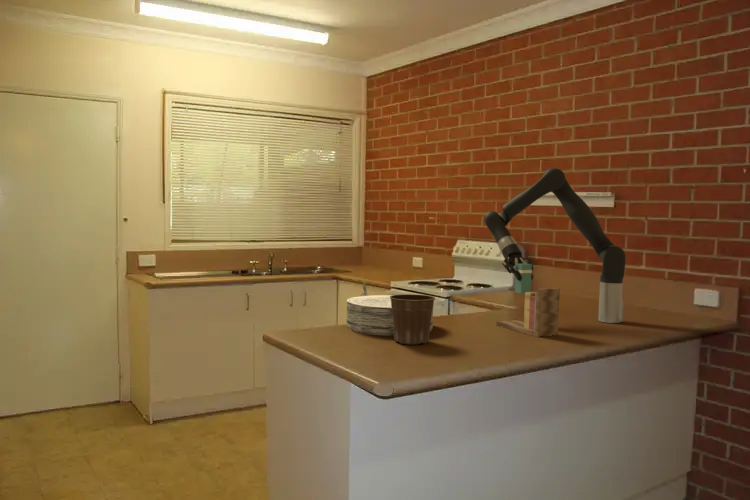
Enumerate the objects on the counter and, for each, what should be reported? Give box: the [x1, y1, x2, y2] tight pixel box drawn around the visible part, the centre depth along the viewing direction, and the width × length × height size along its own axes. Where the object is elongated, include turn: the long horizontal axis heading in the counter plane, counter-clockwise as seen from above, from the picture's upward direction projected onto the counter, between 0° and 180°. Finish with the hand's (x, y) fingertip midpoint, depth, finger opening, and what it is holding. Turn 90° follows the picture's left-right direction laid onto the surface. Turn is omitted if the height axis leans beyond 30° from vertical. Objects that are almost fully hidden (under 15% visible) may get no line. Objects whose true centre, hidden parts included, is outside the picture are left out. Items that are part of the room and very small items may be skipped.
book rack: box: [496, 287, 561, 338], centre depth 247 cm, size 10×26×18 cm, turn 26°
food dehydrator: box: [346, 280, 434, 337], centre depth 249 cm, size 38×34×18 cm
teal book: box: [514, 263, 533, 294], centre depth 260 cm, size 5×4×12 cm
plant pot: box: [390, 293, 436, 346], centre depth 221 cm, size 16×16×16 cm
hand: (526, 279), depth 258 cm, fingers closed on teal book, 5 cm apart
